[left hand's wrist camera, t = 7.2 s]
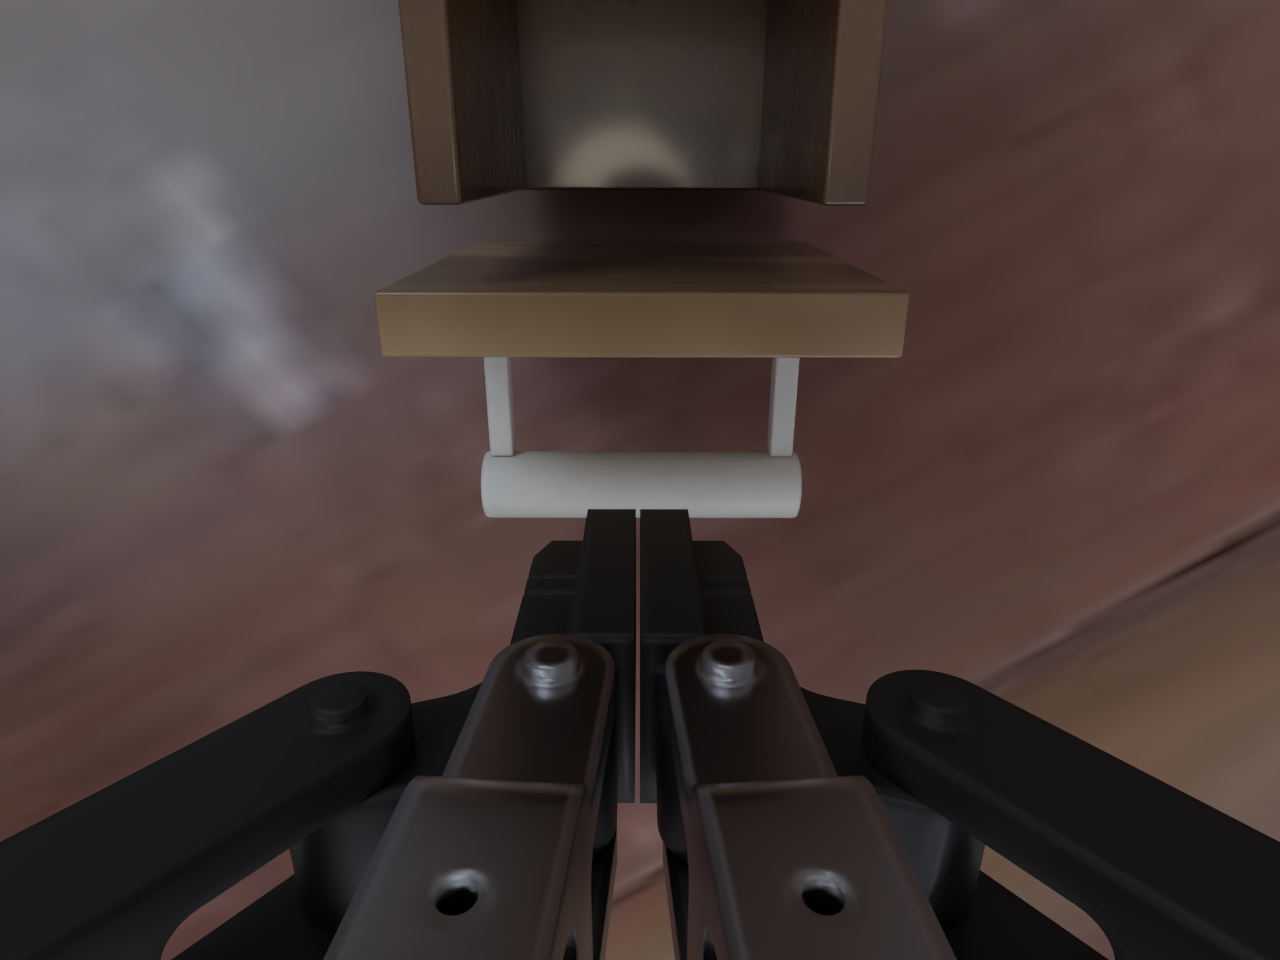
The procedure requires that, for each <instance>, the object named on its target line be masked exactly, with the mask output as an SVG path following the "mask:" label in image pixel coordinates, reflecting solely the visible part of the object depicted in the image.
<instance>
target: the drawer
mask: <svg viewBox="0 0 1280 960" xmlns="http://www.w3.org/2000/svg"><path fill="white" fill-rule="evenodd" d="M887 3H888V0H399V11H400V21H401V32H402V42H403V53H404V64H405V74H406V85H407V95H408V106H409V116H410V127H411V137H412V148H413V158H414V169H415V179H416V190H417V199H418V201H419V203H420V204H423V205H460V204H464V203H468V202H472V201H477V200H481V199H485V198H489V197H494V196H498V195H502V194H506V193H511V192H515V191H519V190H762V191H766V192H771V193H775V194H779V195H783V196H788V197H792V198H796V199H800V200H804V201H809V202H813V203H817V204H821V205H826V206H863V205H866V203H867V201H868V193H869V183H870V173H871V163H872V153H873V143H874V133H875V123H876V113H877V103H878V93H879V83H880V73H881V63H882V53H883V43H884V33H885V23H886V13H887ZM909 297H910V295H909V293H908V292H905V291H903V290H901V289H899V288H897V287H895V286H893V285H891V284H889V283H887V282H885V281H883V280H881V279H879V278H877V277H875V276H873V275H871V274H869V273H867V272H865V271H863V270H861V269H859V268H856V267H854V266H852V265H850V264H848V263H846V262H844V261H842V260H840V259H838V258H836V257H834V256H832V255H830V254H828V253H826V252H824V251H822V250H820V249H818V248H816V247H814V246H812V245H810V244H808V243H805V242H477V243H475V244H473V245H471V246H469V247H467V248H465V249H462V250H460V251H458V252H456V253H454V254H452V255H450V256H448V257H446V258H444V259H442V260H440V261H438V262H436V263H434V264H432V265H430V266H428V267H426V268H424V269H422V270H420V271H418V272H416V273H414V274H412V275H410V276H408V277H406V278H403V279H401V280H399V281H397V282H395V283H393V284H391V285H389V286H387V287H385V288H383V289H381V290H379V291H377V292H376V293H375V301H376V309H377V318H378V326H379V335H380V343H381V352H382V355H383V356H384V357H484V369H485V383H486V398H487V412H488V426H489V440H490V451H489V452H487V453H486V454H485V457H484V460H483V464H482V472H481V497H482V505H483V509H484V512H485V515H486V516H487V517H579V518H587V511H588V509H636V518H640V509H688V513H689V518H794V517H796V516H797V514H798V512H799V509H800V504H801V494H802V475H801V466H800V461H799V458H798V455H797V453H795V452H793V439H794V426H795V413H796V399H797V386H798V373H799V360H800V358H900V357H901V356H902V354H903V346H904V338H905V330H906V322H907V314H908V305H909ZM511 357H624V358H773V360H772V376H771V392H770V407H769V423H768V439H767V450H768V452H704V451H515V449H516V441H515V424H514V407H513V390H512V373H511Z"/></svg>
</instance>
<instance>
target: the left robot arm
mask: <svg viewBox="0 0 1280 960" xmlns="http://www.w3.org/2000/svg"><path fill="white" fill-rule="evenodd" d="M635 695H636V509H588V511H587V518H586V524H585V531H584V537H583V541H551V542H550V543H549V544H548V545H547V546H546V547H545V548H543V549H542V550H541V551H540V552H539V553H538V554H536V555H535V556H534V558H533V562H532V565H531V569H530V573H529V579H528V580H527V584H526V588H525V594H524V595H523V599H522V602H521V606H520V610H519V613H518V617H517V621H516V625H515V628H514V632H513V636H512V639H511V643H510V646H508V647H506V648H505V649H503V650H502V651H501V652H500V653H498V654H497V655H496V657H495V658H494V659H493V660H492V662H491V664H490V665H489V668H488V670H487V672H486V675H485V677H484V679H483V682H482V683H480V684H478V685H476V686H474V687H472V688H470V689H468V690H465V691H462V692H460V693H457V694H453V695H449V696H445V697H441V698H436V699H431V700H427V701H422V702H417V703H412V704H411V701H410V695H409V692H408V690H407V688H406V687H405V686H404V685H403V684H402V683H401V682H400V681H398V680H397V679H395V678H393V677H391V676H388V675H385V674H381V673H375V672H361V671H359V672H346V673H340V674H335V675H331V676H327V677H324V678H321V679H318V680H315V681H312V682H310V683H308V684H306V685H304V686H302V687H300V688H298V689H296V690H294V691H292V692H290V693H288V694H286V695H284V696H282V697H280V698H278V699H276V700H274V701H272V702H271V703H269V704H267V705H265V706H263V707H261V708H259V709H257V710H255V711H253V712H251V713H249V714H247V715H245V716H243V717H241V718H240V719H238V720H236V721H234V722H232V723H230V724H228V725H226V726H224V727H222V728H220V729H218V730H216V731H214V732H212V733H211V734H209V735H207V736H205V737H203V738H201V739H199V740H197V741H195V742H193V743H191V744H189V745H187V746H185V747H183V748H181V749H180V750H178V751H176V752H174V753H172V754H170V755H168V756H166V757H164V758H162V759H160V760H158V761H156V762H154V763H152V764H150V765H149V766H147V767H145V768H143V769H141V770H139V771H137V772H135V773H133V774H131V775H129V776H127V777H125V778H123V779H121V780H120V781H118V782H116V783H114V784H112V785H110V786H108V787H106V788H104V789H102V790H100V791H98V792H96V793H94V794H92V795H90V796H89V797H87V798H85V799H83V800H81V801H79V802H77V803H75V804H73V805H71V806H69V807H67V808H65V809H63V810H61V811H59V812H58V813H56V814H54V815H52V816H50V817H48V818H46V819H44V820H42V821H40V822H38V823H36V824H34V825H32V826H30V827H29V828H27V829H25V830H23V831H21V832H19V833H17V834H15V835H13V836H11V837H9V838H7V839H5V840H3V841H1V842H0V960H160V959H161V955H162V952H163V950H164V947H165V945H166V943H167V941H168V940H169V938H170V936H171V935H172V934H173V932H174V931H175V930H176V928H177V927H178V926H179V925H180V924H181V923H182V922H183V921H184V920H185V919H186V918H187V917H188V916H189V915H191V914H192V913H193V912H195V911H196V910H197V909H199V908H200V907H202V906H203V905H205V904H206V903H208V902H209V901H211V900H212V899H214V898H215V897H217V896H218V895H220V894H221V893H223V892H224V891H226V890H227V889H229V888H230V887H232V886H233V885H235V884H236V883H238V882H239V881H241V880H242V879H244V878H245V877H247V876H248V875H250V874H251V873H253V872H254V871H256V870H257V869H259V868H260V867H262V866H263V865H265V864H266V863H268V862H269V861H271V860H272V859H274V858H275V857H277V856H278V855H280V854H281V853H283V852H284V851H286V850H287V849H290V854H291V859H292V863H293V868H294V873H295V874H294V875H292V876H291V877H289V878H288V879H287V880H285V881H284V882H282V883H281V884H279V885H278V886H277V887H275V888H274V889H272V890H271V891H269V892H268V893H266V894H265V895H264V896H262V897H261V898H259V899H258V900H256V901H255V902H254V903H252V904H251V905H249V906H248V907H246V908H245V909H244V910H242V911H241V912H239V913H238V914H236V915H235V916H233V917H232V918H231V919H229V920H228V921H226V922H225V923H223V924H222V925H221V926H219V927H218V928H216V929H215V930H213V931H212V932H211V933H209V934H208V935H206V936H205V937H203V938H202V939H200V940H199V941H198V942H196V943H195V944H193V945H192V946H190V947H189V948H188V949H186V950H185V951H183V952H182V953H180V954H179V955H177V956H176V957H175V958H173V959H172V960H605V954H606V946H607V938H608V930H609V922H610V914H611V906H612V898H613V890H614V882H615V874H616V866H617V803H635ZM640 803H657V822H658V830H659V833H660V836H661V838H662V840H663V866H664V874H665V882H666V890H667V898H668V906H669V914H670V922H671V930H672V938H673V946H674V954H675V960H1108V959H1107V958H1105V957H1104V956H1102V955H1101V954H1100V953H1098V952H1097V951H1095V950H1094V949H1092V948H1091V947H1090V946H1088V945H1087V944H1085V943H1084V942H1082V941H1081V940H1080V939H1078V938H1077V937H1075V936H1074V935H1072V934H1071V933H1069V932H1068V931H1067V930H1065V929H1064V928H1062V927H1061V926H1059V925H1058V924H1057V923H1055V922H1054V921H1052V920H1051V919H1049V918H1048V917H1047V916H1045V915H1044V914H1042V913H1041V912H1039V911H1038V910H1036V909H1035V908H1034V907H1032V906H1031V905H1029V904H1028V903H1026V902H1025V901H1024V900H1022V899H1021V898H1019V897H1018V896H1016V895H1015V894H1013V893H1012V892H1011V891H1009V890H1008V889H1006V888H1005V887H1003V886H1002V885H1001V884H999V883H998V882H996V881H995V880H993V879H992V878H991V877H989V876H988V875H986V874H985V873H983V872H982V871H980V867H981V862H982V857H983V852H984V847H985V845H987V846H988V847H990V848H991V849H993V850H994V851H996V852H997V853H999V854H1000V855H1002V856H1003V857H1005V858H1006V859H1008V860H1009V861H1011V862H1012V863H1014V864H1015V865H1017V866H1018V867H1020V868H1021V869H1023V870H1024V871H1026V872H1027V873H1029V874H1030V875H1032V876H1033V877H1035V878H1036V879H1038V880H1039V881H1041V882H1042V883H1044V884H1045V885H1047V886H1048V887H1050V888H1051V889H1053V890H1054V891H1056V892H1057V893H1059V894H1060V895H1062V896H1063V897H1065V898H1066V899H1068V900H1069V901H1071V902H1072V903H1074V904H1075V905H1077V906H1078V907H1079V908H1081V909H1082V910H1083V911H1085V912H1086V913H1087V914H1088V915H1089V916H1090V917H1091V918H1093V920H1094V921H1095V922H1096V923H1097V924H1098V925H1099V926H1100V928H1101V929H1102V930H1103V932H1104V933H1105V935H1106V936H1107V938H1108V940H1109V942H1110V944H1111V946H1112V949H1113V952H1114V956H1115V960H1280V842H1279V841H1277V840H1275V839H1273V838H1271V837H1269V836H1267V835H1265V834H1263V833H1261V832H1259V831H1257V830H1255V829H1253V828H1251V827H1250V826H1248V825H1246V824H1244V823H1242V822H1240V821H1238V820H1236V819H1234V818H1232V817H1230V816H1228V815H1226V814H1224V813H1222V812H1220V811H1219V810H1217V809H1215V808H1213V807H1211V806H1209V805H1207V804H1205V803H1203V802H1201V801H1199V800H1197V799H1195V798H1193V797H1191V796H1189V795H1188V794H1186V793H1184V792H1182V791H1180V790H1178V789H1176V788H1174V787H1172V786H1170V785H1168V784H1166V783H1164V782H1162V781H1160V780H1159V779H1157V778H1155V777H1153V776H1151V775H1149V774H1147V773H1145V772H1143V771H1141V770H1139V769H1137V768H1135V767H1133V766H1131V765H1129V764H1128V763H1126V762H1124V761H1122V760H1120V759H1118V758H1116V757H1114V756H1112V755H1110V754H1108V753H1106V752H1104V751H1102V750H1100V749H1098V748H1097V747H1095V746H1093V745H1091V744H1089V743H1087V742H1085V741H1083V740H1081V739H1079V738H1077V737H1075V736H1073V735H1071V734H1069V733H1068V732H1066V731H1064V730H1062V729H1060V728H1058V727H1056V726H1054V725H1052V724H1050V723H1048V722H1046V721H1044V720H1042V719H1040V718H1038V717H1037V716H1035V715H1033V714H1031V713H1029V712H1027V711H1025V710H1023V709H1021V708H1019V707H1017V706H1015V705H1013V704H1011V703H1009V702H1008V701H1006V700H1004V699H1002V698H1000V697H998V696H996V695H994V694H992V693H990V692H988V691H986V690H984V689H982V688H980V687H978V686H977V685H975V684H972V683H970V682H968V681H966V680H964V679H961V678H958V677H955V676H952V675H948V674H944V673H941V672H934V671H927V670H904V671H897V672H894V673H890V674H887V675H885V676H883V677H881V678H879V679H878V680H876V681H875V682H874V683H873V684H872V685H871V687H870V688H869V691H868V693H867V699H866V705H865V704H860V703H856V702H851V701H846V700H841V699H837V698H832V697H828V696H824V695H820V694H817V693H814V692H811V691H808V690H806V689H804V688H801V687H800V686H799V684H798V682H797V679H796V677H795V675H794V672H793V670H792V668H791V665H790V664H789V662H788V660H787V659H786V658H785V657H784V655H783V654H782V653H780V652H779V651H778V650H777V649H775V648H774V647H772V646H770V645H769V644H767V643H764V641H763V637H762V633H761V629H760V625H759V621H758V617H757V614H756V610H755V606H754V602H753V598H752V595H751V590H750V587H749V583H748V580H747V575H746V571H745V567H744V563H743V559H742V557H741V556H740V555H739V554H738V553H737V552H736V551H734V550H733V549H732V548H731V547H730V546H729V545H728V544H727V543H725V542H724V541H692V534H691V527H690V520H689V513H688V509H640Z"/></svg>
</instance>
